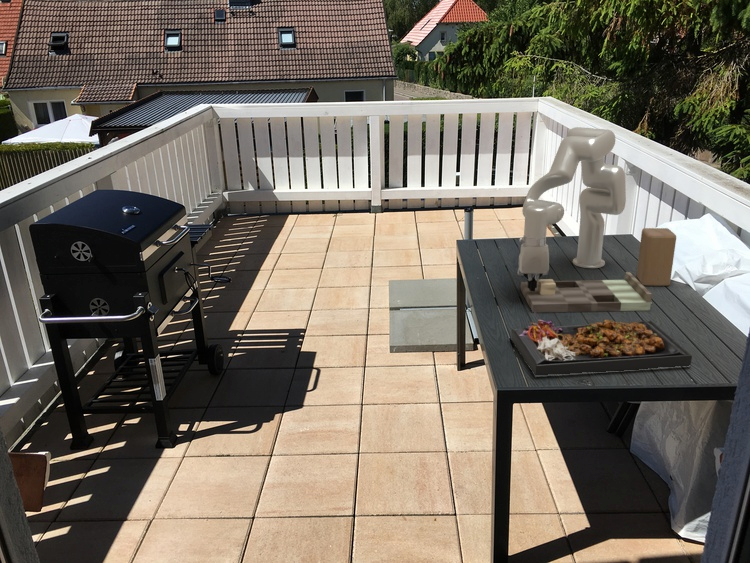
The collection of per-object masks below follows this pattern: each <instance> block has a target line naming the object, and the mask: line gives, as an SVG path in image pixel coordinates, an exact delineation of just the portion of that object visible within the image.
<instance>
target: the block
mask: <svg viewBox="0 0 750 563" xmlns="http://www.w3.org/2000/svg"><path fill="white" fill-rule="evenodd" d="M676 244H677V235H676V234H675V233H674V232H673V231H672V230H671V229H669V228H667V227H666V228H663V227H661V228H660V227H655V228H654V227H649V228H647V227H646V228H642V230H641V236H640V243H639V252H638V261H637V267H636V268H637V270H636V279H637V280H638V281H639V282H640V283H641V284H642V285H643V286H660V287H663V286H665V287H666V286H670V284H671V279H672V271H673V266H674V257H675V252H676Z"/></svg>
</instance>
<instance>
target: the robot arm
mask: <svg viewBox="0 0 750 563" xmlns="http://www.w3.org/2000/svg"><path fill="white" fill-rule="evenodd" d="M615 144H616V135H615V133H614V132H613V130H610V129H604V128H591V127H578V126H577V127H572V128H570V129H569V130H568V131H567V134H566V137H564V138H562V140H561V141H560V144H559V146H558V148H557V151H556V154H555V156H554V158H553V161H552V164H551V167H550V168H549V171H548V172H547V173H546V174H544V175H543V176H542V177H540V178H539V179H537V181H535V182H534V183H533V184H532V185H531V186H530V188H529V189H528V191H527V194H526V197H525V199H524V202H523V204H522V215H523V217H524V228H523V229H524V231H523V236H522V237H520V238H519V242H520V243H522V244H521V245H520V249H519V256H518V263H517V266H518V269H517V275H518V276H521V277H522V276H523V277H525V278H526V279H527V282H528V285H527V287H528V288H529V290H530V291H535V288H537V281H538V280H540V279H541V278H542V276H547V275H549V270H550V251H549V245H548V244H547V243H546V242H547V227H548V225H554V224H558V223H559V222H560V221H562V219H563V218H564V214H565V208H564V206H563V205H562V204H561V203H560V202H556V201H549V200H544V199H540V197H541V196H542V195H543V194H545V193H546V192H547V191H549V190H551V189H554V188H557V187H561V186H564V185H566V184H569V183H570V182H572V180H573V179H574V177H575V175H576V174H575V173H576V172H577V171H576V170H577V168H578V165H579V163H580V167H581V180H582V183H583V185H584V186H585V187H586V188H584V189H583V190H582V191H581V192H580V195H579V197H578V198H579V199H578V201H579V212H580V213H579V214H580V216H579V217H580V218H579V230H578V242H577V252H576V253H577V254H576V257H575V258H573V259H572V263H573V265H574V266H576V267H578V268H579V267H580V268H584V269H598V268H599V269H601V268H602V267H604V266H605V264H606V261H605V260H604V259H603V258H602V254H603V245H604V243H603V242H604V235H605V233H604V232H605V220H604V217H603V215H604V214H605V215H610V216H611V215H612V216H613V215H614V216H618V215H621V214H622V213H623V212H624V210H625V207H626V201H627V200H626V199H627V198H626V195H627V193H626V190H627V189H626V173H625V170H624V168H622V166H619V165H617V164H607V163H606V162H605V156H606V155H608V154H610V153H611V151H612V150H613V149H614V147H615ZM532 275H533V276H532Z"/></svg>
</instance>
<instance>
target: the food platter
mask: <svg viewBox="0 0 750 563" xmlns="http://www.w3.org/2000/svg"><path fill="white" fill-rule="evenodd" d="M534 315H535V317H536V319H537V323H536V322H535V323H534V322H530V323H529V324H533V325H531V326H530V325H527V327H524V326H522V327H520V328H511V337H510V341H511V340H512V341H513V342H512V341H511V342H512V344H513V343H514V344H515V345H516V347H517V348H518V350H519V352H520V353H521V355H522V356H523V358H524V359H525V361H526V362H527V364H528V365H529V366H530V368H531V369H532V371H533V372H534V374H535V375H548V374H570V373H582V372H606V371H624V370H639V369H648V368H658V367H675V366H689V365H691V366H692V359H693V355H691V354H690V353H689V351H686V350H685V349H684V348H683V347H682V346H681V345H680V344H679V343H677V342H676V340H674V339H673V338H672V337H670V335H668V334H667V333H666V331H663V330H662V329H661V328H660V327H659V326H658V325H656V323H655V322H653V321H652V320H641V321H625V322H623V321H620V322H619V321H614V320H612V319H610V320H609V319H605V320H603V322H601V321H597V322H594V323H589V324H574V325H560V326H558V325H557V326H555V325H556V323H553V322H552V320H548V321H546V320H543V319H538V318H539V317H537V314H536V313H535V312H534ZM514 344H513V345H514ZM515 345H514V346H515ZM516 347H515V348H516ZM518 350H517V351H518ZM519 352H518V353H519ZM520 353H519V354H520ZM521 355H520V356H521ZM522 356H521V357H522ZM523 358H522V359H523ZM525 361H524V362H525ZM527 364H526V365H527Z"/></svg>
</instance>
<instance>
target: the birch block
mask: <svg viewBox="0 0 750 563" xmlns="http://www.w3.org/2000/svg"><path fill="white" fill-rule="evenodd" d="M554 281H555V280H554V279H553V278H548V279H547V278H545V279H542V278H540V279H538V291H539V293H540V295H555V288H556V284H555V282H554Z"/></svg>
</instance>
